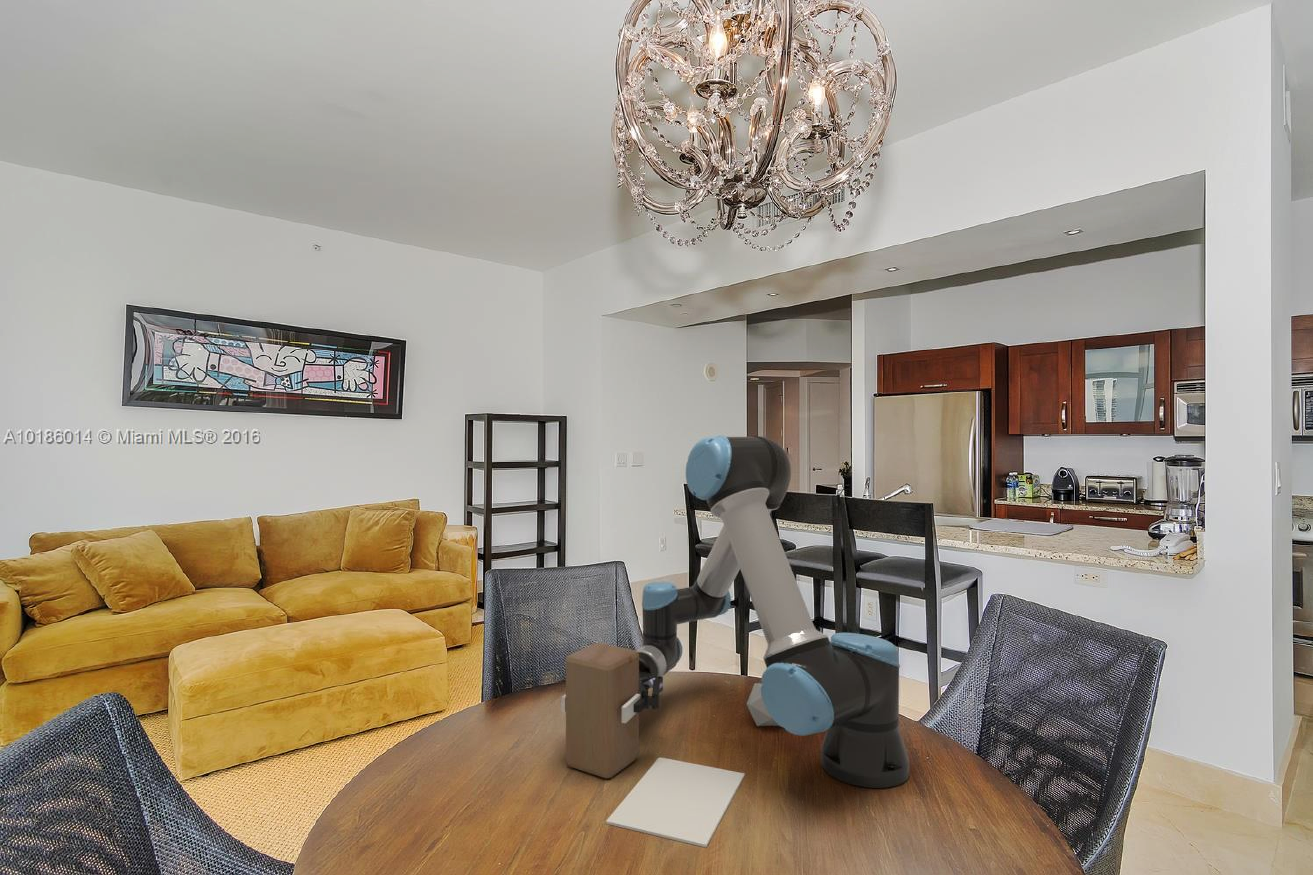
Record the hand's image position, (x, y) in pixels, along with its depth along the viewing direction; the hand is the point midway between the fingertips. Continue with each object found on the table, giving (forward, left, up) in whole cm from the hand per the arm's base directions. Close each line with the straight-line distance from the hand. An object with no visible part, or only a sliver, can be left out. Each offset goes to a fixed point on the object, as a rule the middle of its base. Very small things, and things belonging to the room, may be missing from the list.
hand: (592, 709), depth 118 cm
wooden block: (0, -4, -11) cm, 12 cm away
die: (-24, -32, -11) cm, 42 cm away
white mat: (-17, +2, -11) cm, 20 cm away
